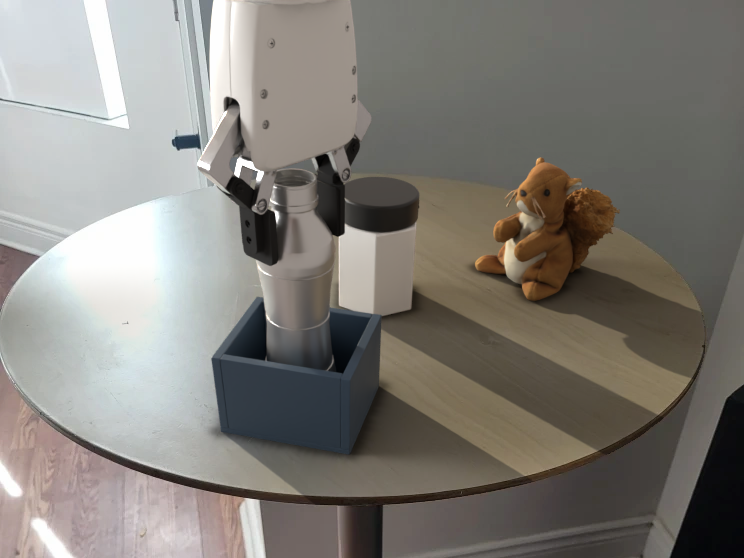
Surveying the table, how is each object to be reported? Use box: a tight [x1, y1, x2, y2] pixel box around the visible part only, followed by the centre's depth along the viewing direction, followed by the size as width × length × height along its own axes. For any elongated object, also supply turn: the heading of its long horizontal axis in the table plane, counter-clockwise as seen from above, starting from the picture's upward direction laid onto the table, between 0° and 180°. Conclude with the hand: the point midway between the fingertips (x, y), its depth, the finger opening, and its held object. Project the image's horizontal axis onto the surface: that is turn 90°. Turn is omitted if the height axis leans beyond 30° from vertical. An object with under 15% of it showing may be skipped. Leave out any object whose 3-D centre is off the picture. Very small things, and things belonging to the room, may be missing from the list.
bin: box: [210, 296, 383, 455], centre depth 68 cm, size 12×11×8 cm
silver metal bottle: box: [254, 167, 337, 372], centre depth 63 cm, size 6×7×20 cm
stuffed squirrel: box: [474, 157, 621, 302], centre depth 87 cm, size 10×14×13 cm
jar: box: [338, 176, 420, 317], centre depth 82 cm, size 9×8×12 cm
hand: (295, 242), depth 60 cm, fingers closed on silver metal bottle, 6 cm apart
